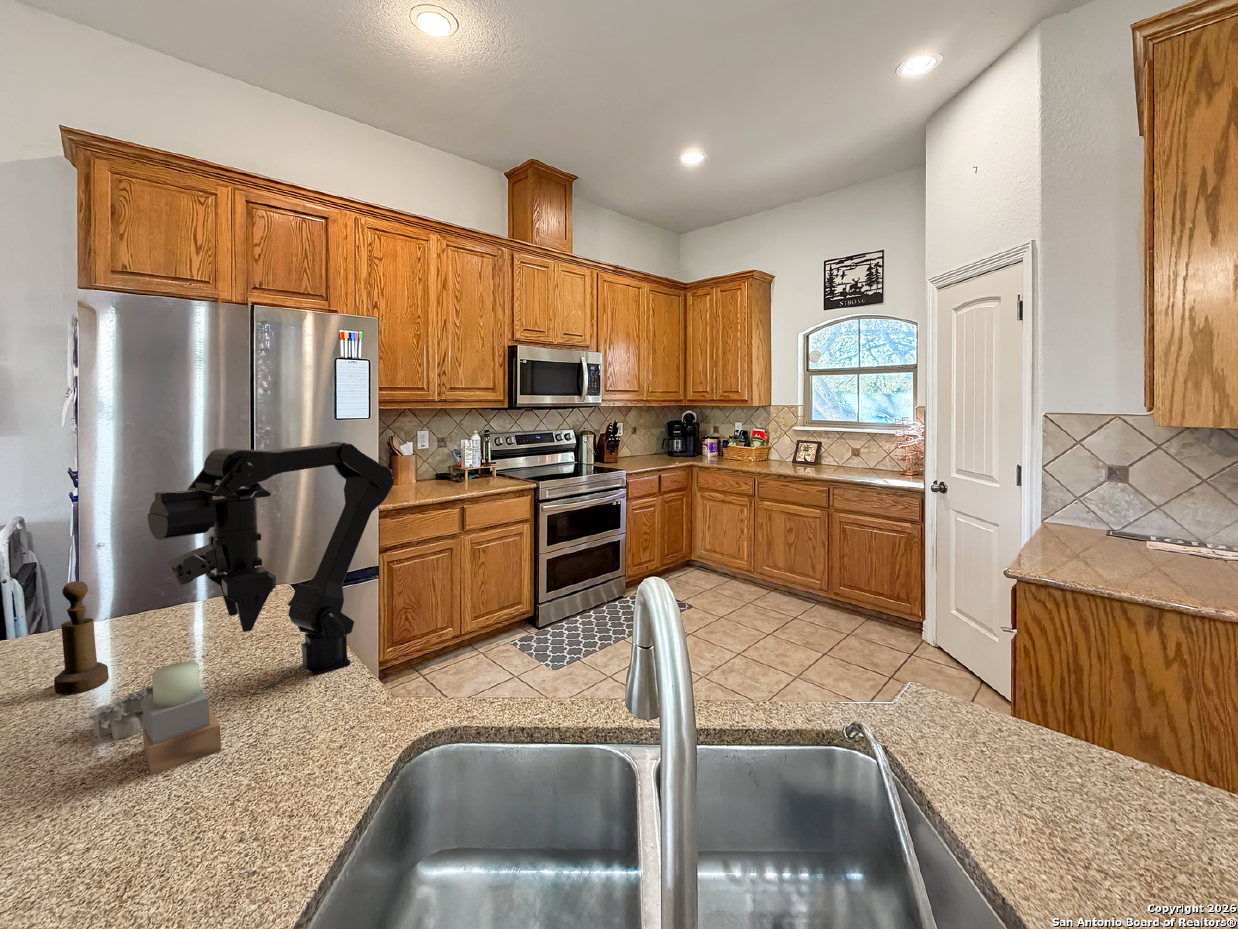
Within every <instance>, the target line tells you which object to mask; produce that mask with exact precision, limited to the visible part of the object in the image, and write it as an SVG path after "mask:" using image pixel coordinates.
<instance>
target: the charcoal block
mask: <svg viewBox="0 0 1238 929" xmlns="http://www.w3.org/2000/svg"><path fill="white" fill-rule="evenodd" d="M209 702H210V701H209V697H208V696H207V694H206V693H205V692H204V691H203V690H202V689H201V687H200V694H199V696H197V697H196V698H195V699H193V700H191V701H189V702H186V703H184V704H180V705H176V706H171V707H157V706H155V705H154V700H153V696H152V697H149V698H145V699H142V704H143V720H144V728H145V730H146V732H147V734H148V735H149V737H150V739H151V741H152V742H153V744H154V745H155V744H158V743H161V742H163V741H166V740H169V739H172V738H175V737H178V736H181V735H183V734H186V733H189V732H192V731H195V730H198V729H201V728H203V727H206V726H209V725H210V721H209V705H210V703H209Z"/></svg>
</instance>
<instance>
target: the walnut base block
mask: <svg viewBox="0 0 1238 929" xmlns="http://www.w3.org/2000/svg"><path fill="white" fill-rule="evenodd" d="M209 721H210V725H209V726H206V727H203V728H201V729H198V730H195V731H192V732H189V733H186V734H183V735H181V736H178V737H175V738H172V739H169V740H166V741H163V742H161V743H158V744H155V745H154V744H153V742H152V741H151V739H150V737H149V735H148V734H147V732H146V730H145V728H144V724H143V727H142V738H143V750H144V753H145V758H146V762H147V766H148V769H149V773H150V776H154V775H156V774H159V773H162V772H165V771H168V770H170V769H174V768H176V767H178V766H181V765H185V764H187V763H191V762H194V761H196V760H200V759H202V758H206V757H207V756H211V755H213V754H216V753H219V752H222V742H221V741H222V740H221V725H220V723H219V721H218V719H217V717H216V715H215V713H214V711H213V709H212V707H211V705H210V704H209ZM210 754H211V755H210ZM193 760H194V761H193Z"/></svg>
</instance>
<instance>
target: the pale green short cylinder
mask: <svg viewBox="0 0 1238 929" xmlns="http://www.w3.org/2000/svg"><path fill="white" fill-rule="evenodd" d="M151 677H152V679H151V681H152V683H151V684H153V700H154V705H155V706H157V707H171V706H176V705H180V704H184V703H186V702H189V701H191V700H193V699H195V698H196V697H197V696H199V694H200V688H201V681H200V680H201V679H200V677H201V676H200V664H199V663H198V662H196V661H192V660H191V661H179V662H174V663H170V664H167V665H165V666H161V667H159V668H157V669H156V670H154V671H153V672H152V673H151Z"/></svg>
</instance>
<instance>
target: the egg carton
mask: <svg viewBox="0 0 1238 929" xmlns="http://www.w3.org/2000/svg"><path fill="white" fill-rule="evenodd" d="M152 696H153V683H151V684H150V685H148V686H147V687H146V688H143V689H139V690H138V691H137V693H136V692H131V693H129V694H127V695H126V696H125V697H122V698H120V699H117V700H115V701H114V702H112V703H109V704H106V705H101V706H98V707H97V708H95V709H94V710H92V712H91V713H90V715H89V716H88V717H87V721H92V720H93V731H94V732H93V734H94V736H95V737H102V736H105V735H108V734H109V735H110V734H111V735H112V739H113V740H116V741H119V740H121V739H124V737H125V738H129V737H134V736H137V735H138V734H140V733H141V729H143V724H144V720H143V704H142V699H145V698H149V697H152Z"/></svg>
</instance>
